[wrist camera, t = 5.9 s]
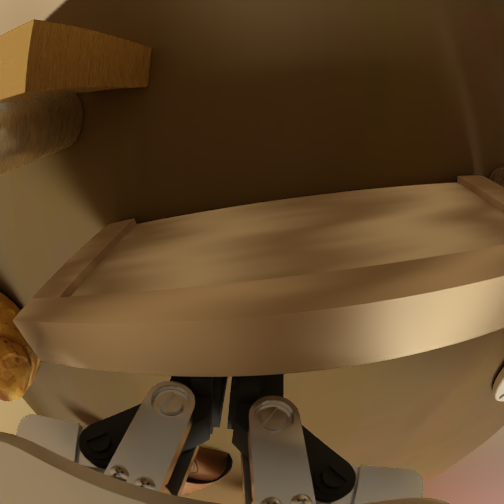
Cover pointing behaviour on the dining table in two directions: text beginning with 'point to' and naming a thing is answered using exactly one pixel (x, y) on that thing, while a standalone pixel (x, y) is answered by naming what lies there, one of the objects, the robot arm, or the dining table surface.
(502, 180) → the hinge post
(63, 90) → the slab and cylinder
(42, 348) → the strip
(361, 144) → the dining table surface
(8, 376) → the bread roll
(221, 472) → the sunglasses case
